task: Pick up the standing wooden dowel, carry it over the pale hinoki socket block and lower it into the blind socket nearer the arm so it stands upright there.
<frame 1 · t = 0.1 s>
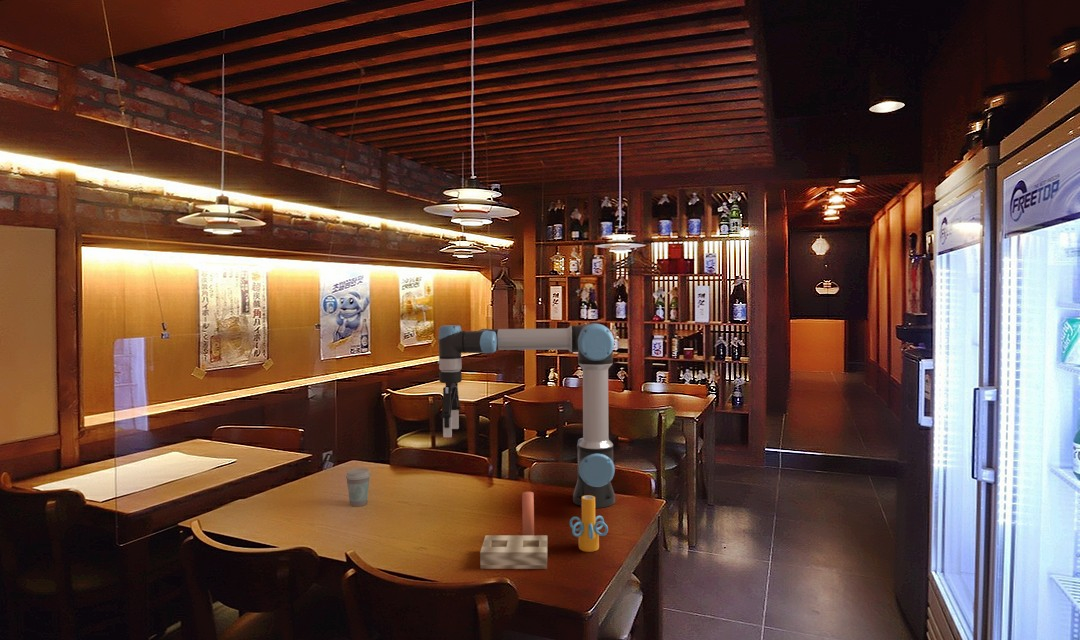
hand: (451, 432, 207), 28 cm above the table, fingers open, 13 cm apart
cylinder: (588, 548, 178), on the table
coffee cup: (358, 504, 220), on the table
dowel: (528, 538, 186), on the table
socket block: (515, 559, 171), on the table
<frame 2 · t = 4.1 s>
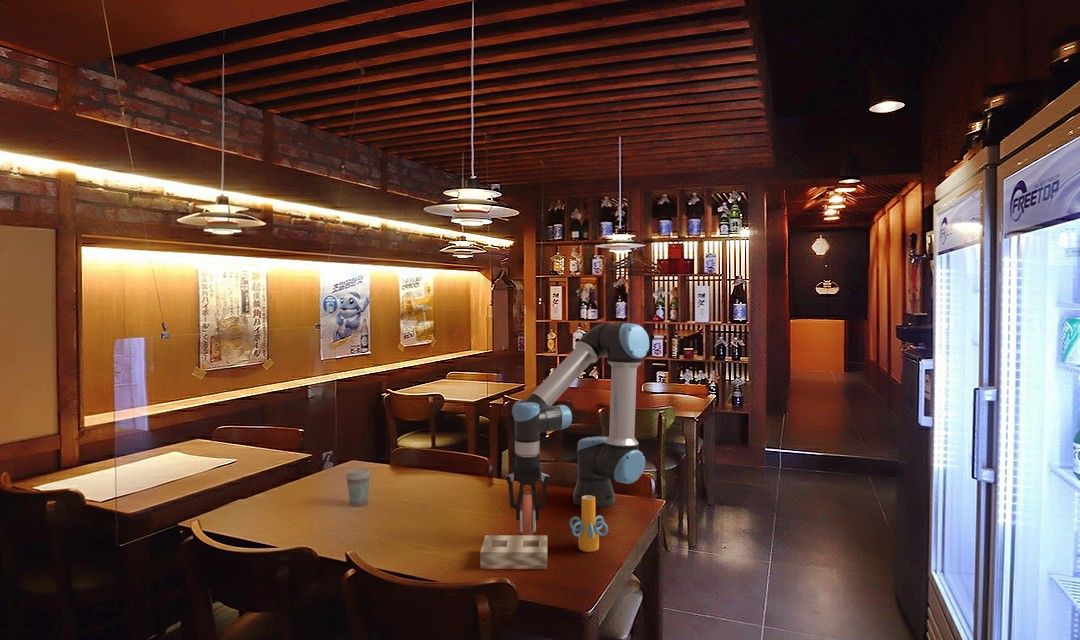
hand: (528, 530, 186), 3 cm above the table, fingers closed on dowel, 3 cm apart
dowel: (527, 538, 186), on the table, touching gripper
everything else where it was.
when the fingers open (6 cm above the table, at t = 8.6 s): dowel stays where it is, resting on socket block.
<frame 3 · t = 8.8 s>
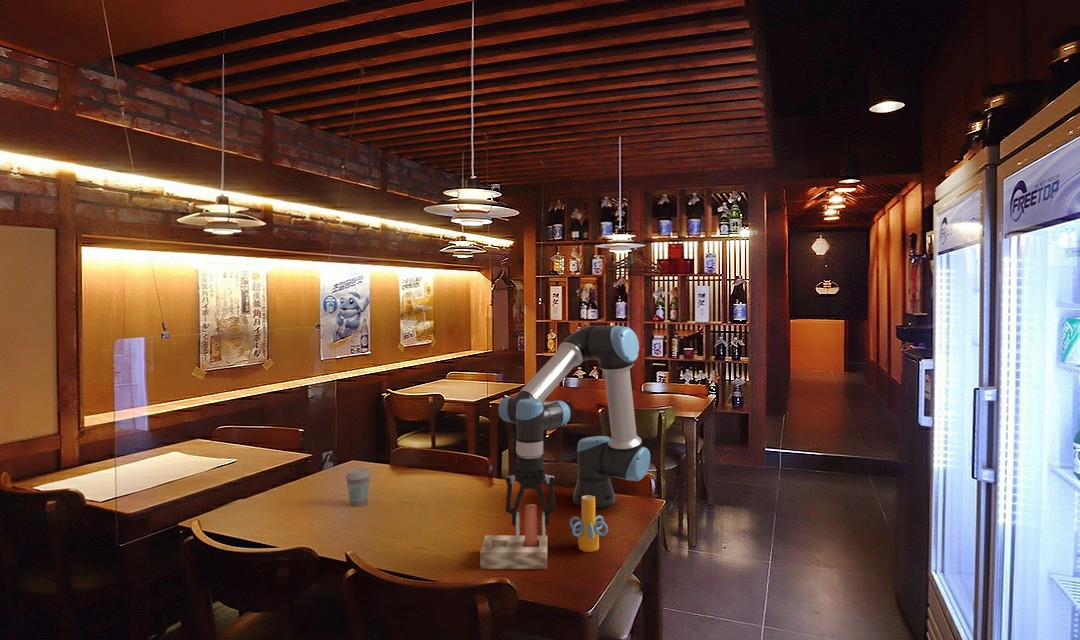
hand: (530, 536, 171), 6 cm above the table, fingers open, 7 cm apart
dowel: (531, 555, 171), point 1 cm above the table, touching socket block
everything else where it was.
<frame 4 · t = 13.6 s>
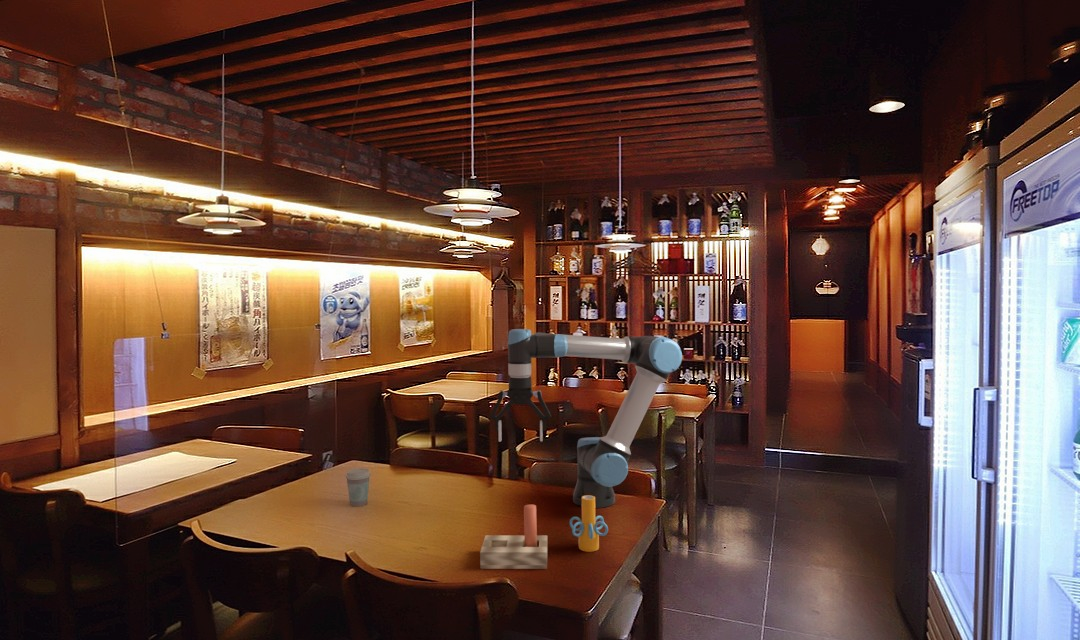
hand: (520, 440, 200), 27 cm above the table, fingers open, 13 cm apart
nothing on the table moved.
at the end: dowel 0.0 cm from the target spot on the socket block, point 1.0 cm above the socket block's base; dowel tilted 1°; the gripper is holding nothing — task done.
